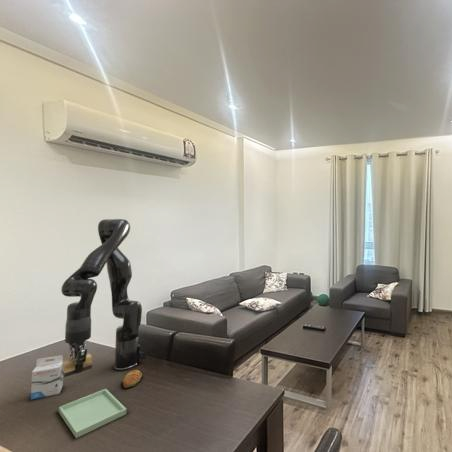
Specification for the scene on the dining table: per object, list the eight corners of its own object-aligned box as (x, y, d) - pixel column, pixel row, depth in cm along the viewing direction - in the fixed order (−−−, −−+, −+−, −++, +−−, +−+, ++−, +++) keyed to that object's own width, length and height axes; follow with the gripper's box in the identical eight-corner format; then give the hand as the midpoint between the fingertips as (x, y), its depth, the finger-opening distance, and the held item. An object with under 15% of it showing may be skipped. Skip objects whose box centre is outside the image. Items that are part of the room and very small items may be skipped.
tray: (105, 393, 115) (105, 388, 115) (126, 413, 103) (126, 408, 103) (58, 412, 103) (58, 407, 103) (75, 438, 91) (76, 432, 91)
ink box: (30, 400, 108) (31, 364, 108) (34, 393, 113) (35, 359, 112) (59, 393, 113) (60, 359, 113) (63, 387, 117) (63, 354, 117)
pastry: (137, 386, 120) (138, 378, 120) (119, 390, 117) (119, 381, 117) (142, 375, 128) (142, 367, 128) (125, 378, 125) (125, 370, 125)
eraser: (88, 365, 112) (89, 353, 112) (91, 368, 110) (92, 356, 110) (61, 373, 106) (62, 361, 106) (64, 377, 104) (65, 364, 103)
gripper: (96, 329, 107) (95, 372, 107) (85, 321, 115) (84, 361, 115) (70, 336, 101) (69, 381, 101) (60, 326, 109) (59, 368, 109)
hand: (77, 370), depth 108 cm, fingers closed on eraser, 4 cm apart
